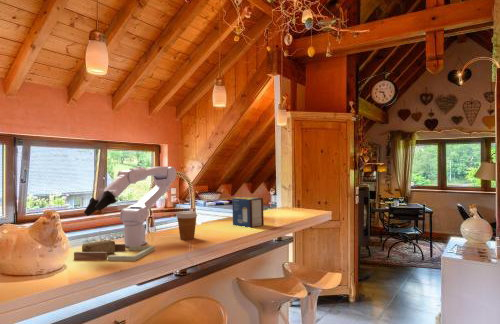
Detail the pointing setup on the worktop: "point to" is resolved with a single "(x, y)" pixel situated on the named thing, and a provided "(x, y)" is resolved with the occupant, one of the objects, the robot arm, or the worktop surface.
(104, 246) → the stone block
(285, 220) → the worktop surface
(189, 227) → the disposable coffee cup
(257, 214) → the protein box
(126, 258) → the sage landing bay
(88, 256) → the walnut chute
